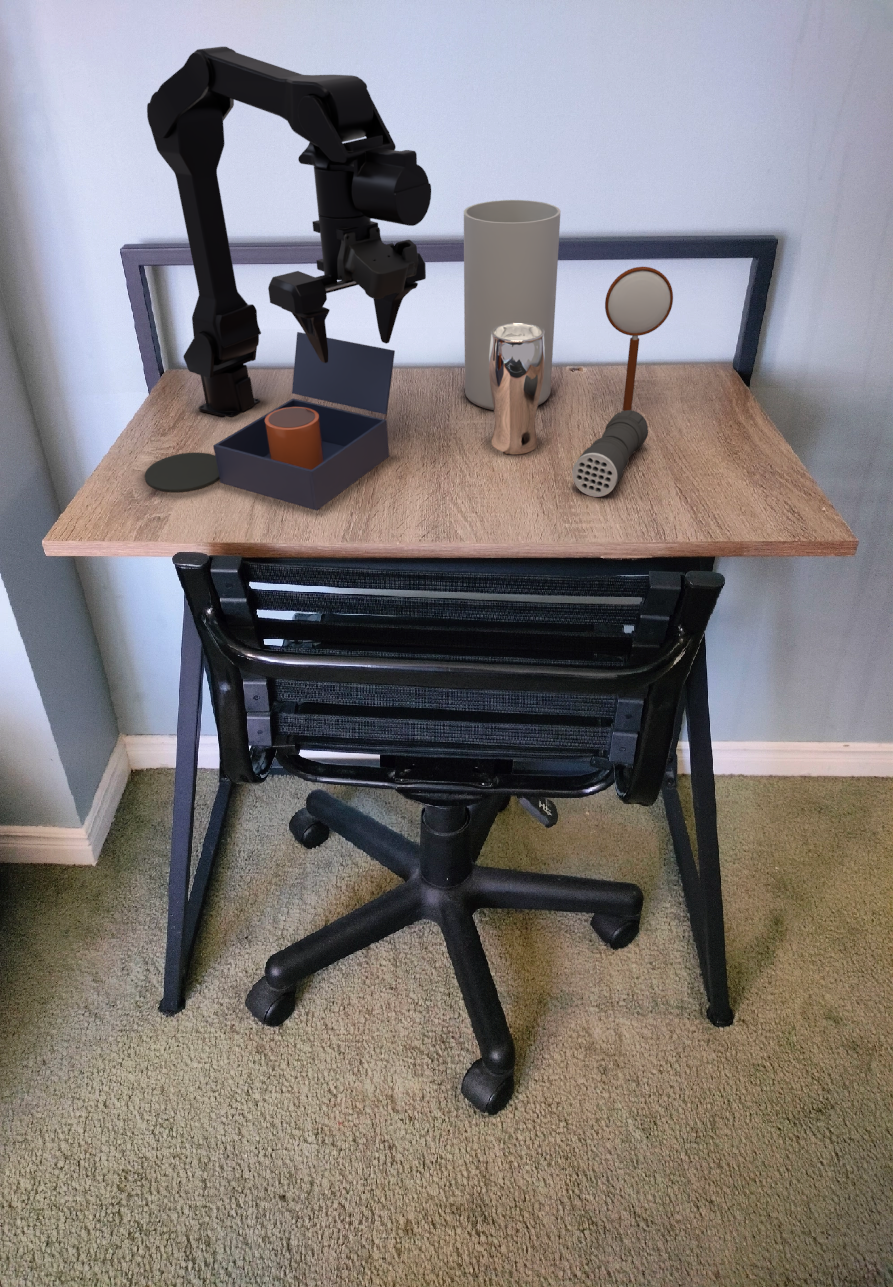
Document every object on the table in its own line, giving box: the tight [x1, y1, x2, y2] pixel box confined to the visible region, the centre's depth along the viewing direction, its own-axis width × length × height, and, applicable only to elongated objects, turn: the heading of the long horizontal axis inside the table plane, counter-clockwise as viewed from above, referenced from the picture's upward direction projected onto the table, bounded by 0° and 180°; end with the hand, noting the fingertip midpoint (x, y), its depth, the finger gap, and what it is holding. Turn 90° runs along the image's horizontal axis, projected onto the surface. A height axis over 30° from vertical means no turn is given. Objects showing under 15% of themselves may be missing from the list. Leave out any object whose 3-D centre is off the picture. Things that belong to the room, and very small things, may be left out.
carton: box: [213, 398, 390, 511], centre depth 112 cm, size 16×15×5 cm
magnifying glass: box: [604, 266, 674, 411], centre depth 118 cm, size 9×2×20 cm, turn 88°
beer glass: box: [489, 323, 545, 456], centre depth 114 cm, size 7×7×15 cm
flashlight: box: [571, 409, 649, 498], centre depth 111 cm, size 15×5×5 cm, turn 154°
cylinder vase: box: [463, 199, 561, 411], centre depth 123 cm, size 12×12×25 cm
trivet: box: [144, 452, 220, 494], centre depth 113 cm, size 10×10×1 cm
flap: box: [291, 331, 396, 415], centre depth 114 cm, size 8×15×1 cm
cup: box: [265, 407, 324, 470], centre depth 110 cm, size 6×6×8 cm
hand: (355, 352), depth 108 cm, fingers open, 9 cm apart
